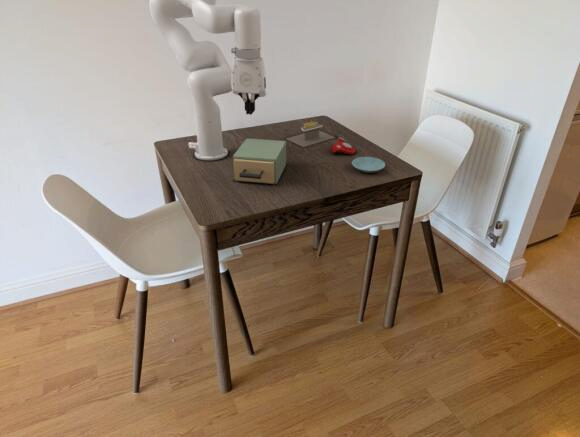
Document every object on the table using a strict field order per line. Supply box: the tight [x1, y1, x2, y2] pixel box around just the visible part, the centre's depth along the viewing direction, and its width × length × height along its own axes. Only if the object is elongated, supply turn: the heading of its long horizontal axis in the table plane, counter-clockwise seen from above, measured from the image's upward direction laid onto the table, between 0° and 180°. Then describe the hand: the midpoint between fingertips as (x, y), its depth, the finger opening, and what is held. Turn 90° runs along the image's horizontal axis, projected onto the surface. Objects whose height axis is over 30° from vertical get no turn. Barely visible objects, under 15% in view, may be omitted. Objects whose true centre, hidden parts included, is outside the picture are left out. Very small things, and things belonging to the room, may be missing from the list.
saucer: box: [351, 156, 386, 174], centre depth 153 cm, size 12×12×2 cm
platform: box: [285, 121, 336, 148], centre depth 178 cm, size 12×18×7 cm, turn 128°
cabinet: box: [232, 137, 287, 185], centre depth 149 cm, size 17×15×9 cm
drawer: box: [233, 159, 274, 184], centre depth 145 cm, size 20×13×7 cm, turn 169°
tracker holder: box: [330, 136, 356, 155], centre depth 167 cm, size 12×4×10 cm
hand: (250, 113), depth 137 cm, fingers closed
